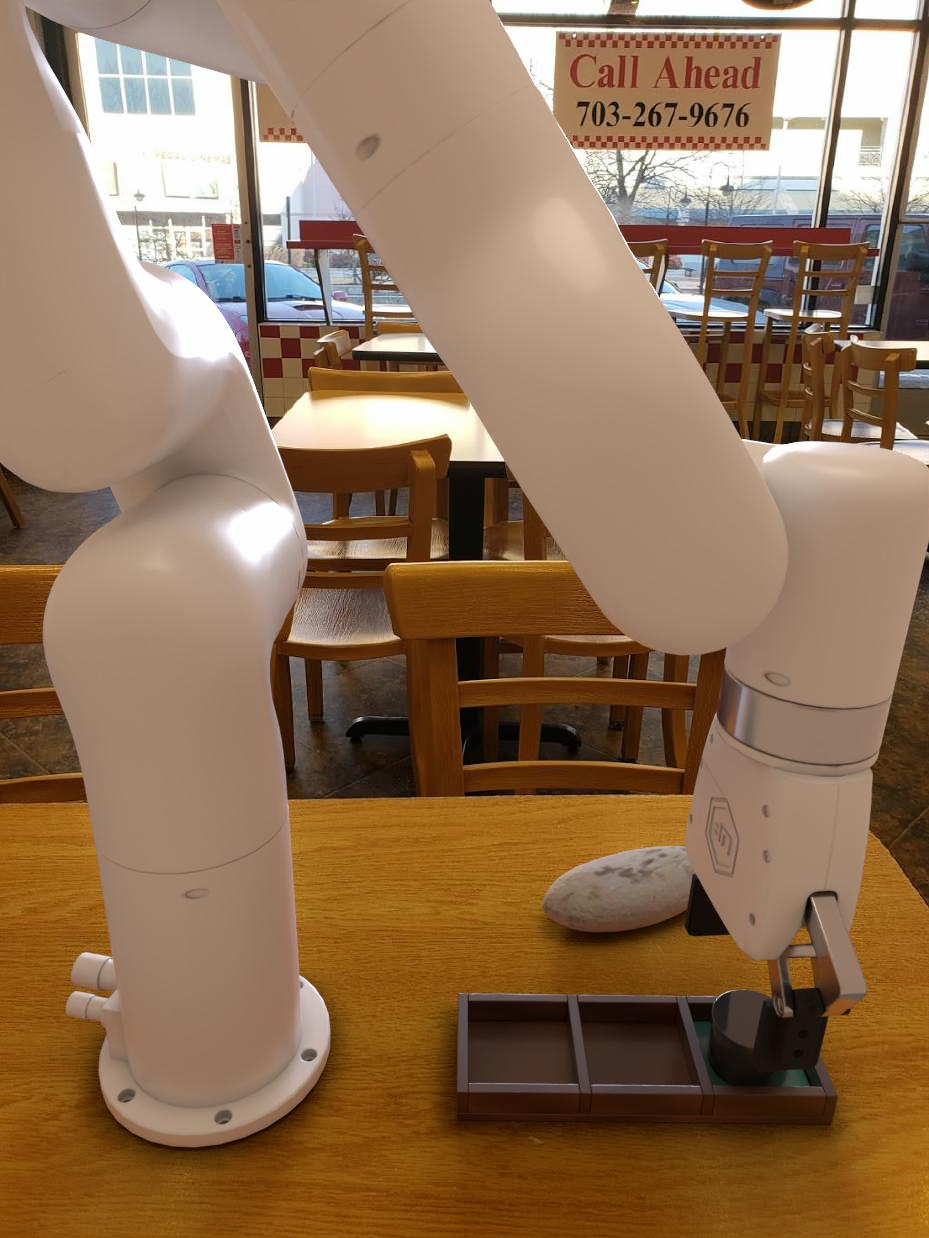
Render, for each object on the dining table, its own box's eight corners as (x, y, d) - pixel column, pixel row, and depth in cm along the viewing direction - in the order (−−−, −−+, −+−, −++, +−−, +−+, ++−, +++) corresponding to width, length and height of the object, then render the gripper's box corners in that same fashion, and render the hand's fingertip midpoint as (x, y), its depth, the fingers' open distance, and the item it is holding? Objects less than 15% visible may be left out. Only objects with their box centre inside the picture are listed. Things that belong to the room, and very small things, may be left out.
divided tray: (789, 1023, 56) (794, 996, 55) (832, 1124, 49) (838, 1096, 49) (457, 1019, 56) (457, 992, 55) (456, 1120, 49) (456, 1091, 49)
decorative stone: (754, 899, 67) (760, 858, 66) (570, 966, 60) (573, 922, 59) (697, 853, 72) (702, 814, 71) (522, 910, 65) (524, 869, 64)
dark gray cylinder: (706, 1084, 51) (712, 1041, 50) (705, 1023, 55) (711, 983, 54) (791, 1100, 50) (799, 1057, 49) (784, 1037, 54) (791, 996, 53)
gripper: (665, 639, 52) (631, 893, 58) (808, 812, 36) (740, 1138, 42) (793, 638, 53) (746, 889, 59) (988, 807, 37) (895, 1126, 43)
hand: (744, 992), depth 51 cm, fingers open, 9 cm apart
